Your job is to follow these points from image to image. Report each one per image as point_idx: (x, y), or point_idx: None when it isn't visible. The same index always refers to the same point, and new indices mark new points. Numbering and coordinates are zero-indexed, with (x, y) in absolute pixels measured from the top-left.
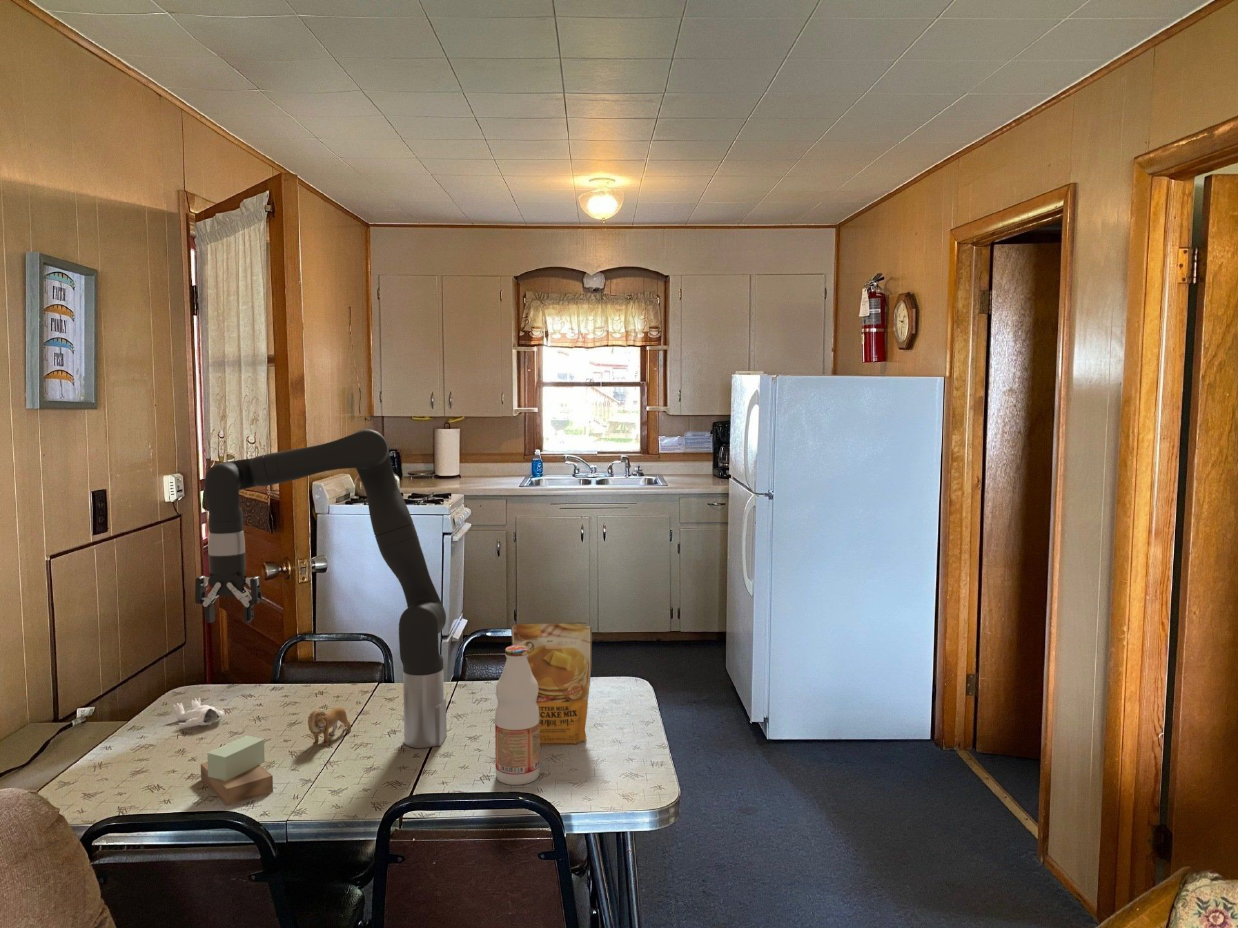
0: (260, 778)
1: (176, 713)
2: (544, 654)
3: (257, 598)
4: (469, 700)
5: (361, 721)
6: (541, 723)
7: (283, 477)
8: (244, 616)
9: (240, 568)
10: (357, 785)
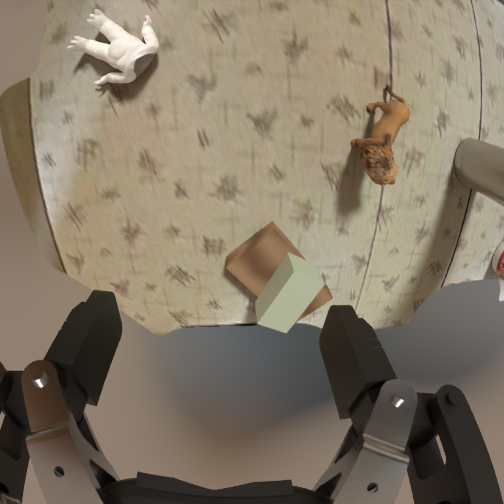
0: (320, 304)
1: (79, 50)
2: None
3: (434, 444)
4: (492, 46)
5: (400, 65)
6: None
7: None
8: (330, 373)
9: None
10: (407, 271)
